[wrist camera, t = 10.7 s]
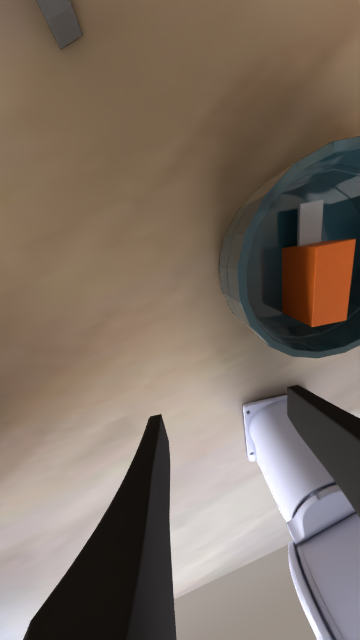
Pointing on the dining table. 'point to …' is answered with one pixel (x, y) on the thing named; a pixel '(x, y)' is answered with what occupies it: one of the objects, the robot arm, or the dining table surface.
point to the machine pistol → (61, 20)
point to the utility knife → (316, 272)
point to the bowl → (281, 231)
